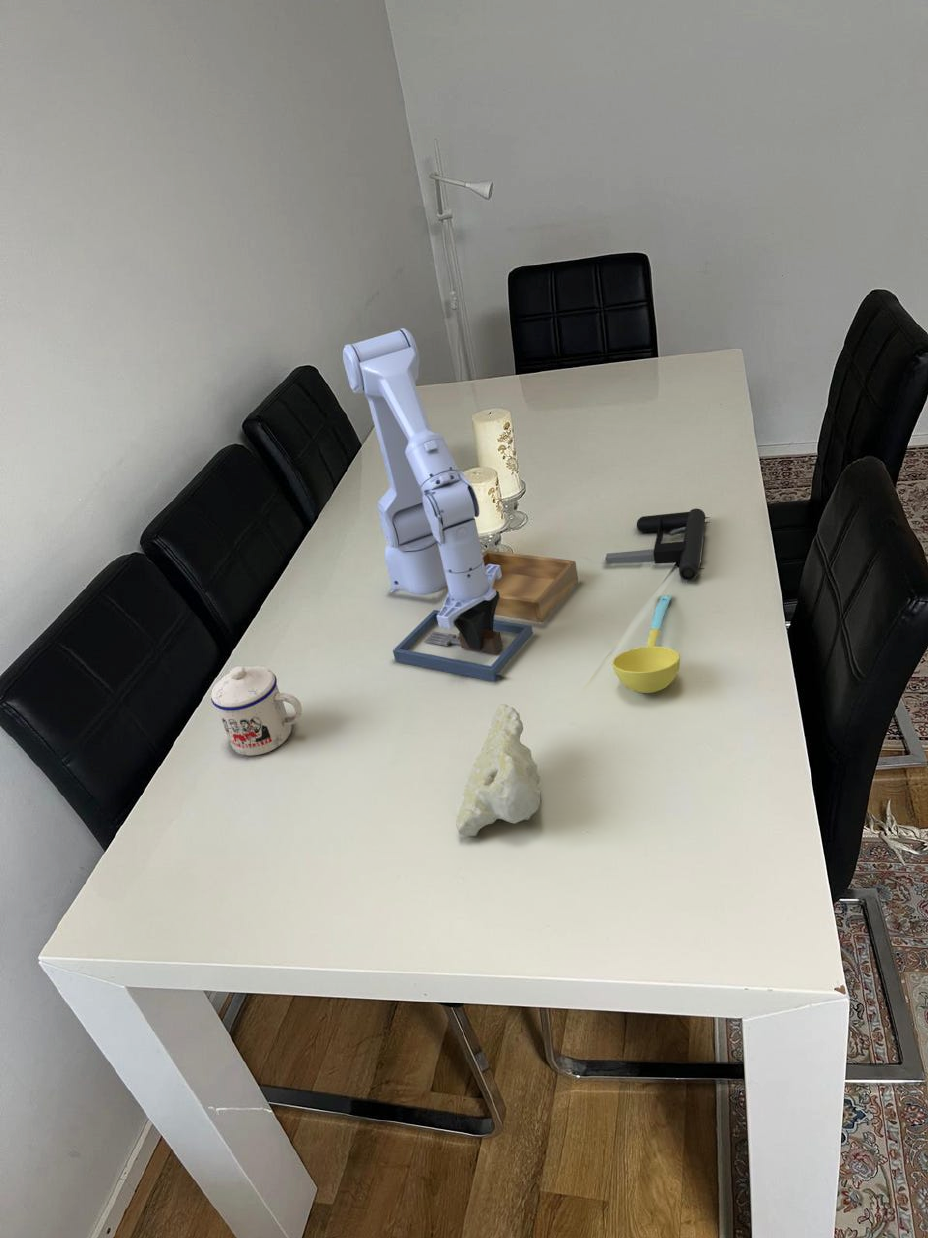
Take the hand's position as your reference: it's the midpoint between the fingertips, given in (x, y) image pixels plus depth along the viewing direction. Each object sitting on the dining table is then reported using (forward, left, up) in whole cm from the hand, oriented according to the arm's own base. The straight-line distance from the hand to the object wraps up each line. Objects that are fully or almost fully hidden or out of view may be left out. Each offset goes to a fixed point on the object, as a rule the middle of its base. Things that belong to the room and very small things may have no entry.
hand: (480, 643), depth 144 cm
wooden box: (-3, +15, -2) cm, 15 cm away
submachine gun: (+14, +33, -2) cm, 36 cm away
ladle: (+24, +8, -2) cm, 25 cm away
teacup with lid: (-19, -26, -2) cm, 33 cm away
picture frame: (-3, 0, -2) cm, 4 cm away
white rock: (+18, -25, -2) cm, 31 cm away
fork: (-3, 0, -1) cm, 3 cm away
